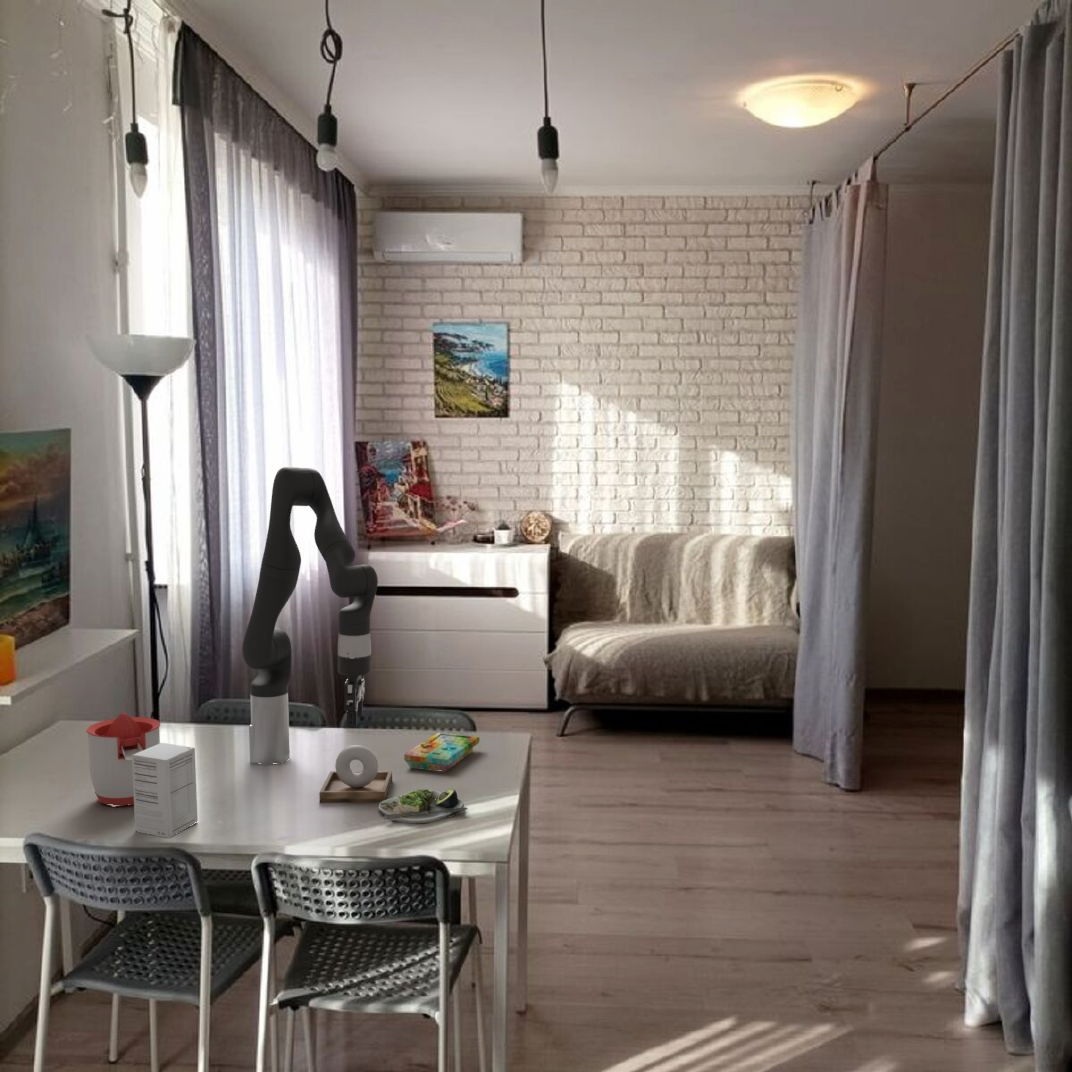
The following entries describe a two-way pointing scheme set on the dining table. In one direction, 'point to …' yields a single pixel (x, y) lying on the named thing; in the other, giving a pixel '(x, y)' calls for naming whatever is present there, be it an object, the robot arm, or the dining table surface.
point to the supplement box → (164, 789)
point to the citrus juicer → (118, 755)
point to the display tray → (356, 789)
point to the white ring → (367, 760)
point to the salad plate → (422, 806)
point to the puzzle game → (440, 751)
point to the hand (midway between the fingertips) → (354, 721)
